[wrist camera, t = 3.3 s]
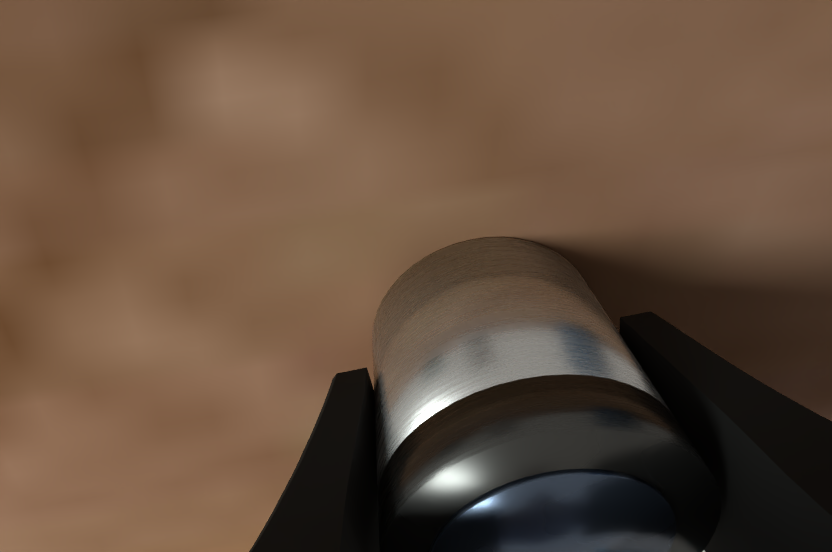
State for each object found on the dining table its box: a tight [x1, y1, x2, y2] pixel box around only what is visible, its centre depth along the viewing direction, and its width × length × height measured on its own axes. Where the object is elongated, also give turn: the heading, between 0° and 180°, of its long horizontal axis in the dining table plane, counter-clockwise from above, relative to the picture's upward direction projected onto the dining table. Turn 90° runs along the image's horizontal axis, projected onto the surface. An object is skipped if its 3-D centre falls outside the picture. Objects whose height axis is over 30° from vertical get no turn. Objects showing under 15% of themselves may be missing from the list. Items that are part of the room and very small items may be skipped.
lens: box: [372, 237, 721, 552], centre depth 10 cm, size 5×5×5 cm
